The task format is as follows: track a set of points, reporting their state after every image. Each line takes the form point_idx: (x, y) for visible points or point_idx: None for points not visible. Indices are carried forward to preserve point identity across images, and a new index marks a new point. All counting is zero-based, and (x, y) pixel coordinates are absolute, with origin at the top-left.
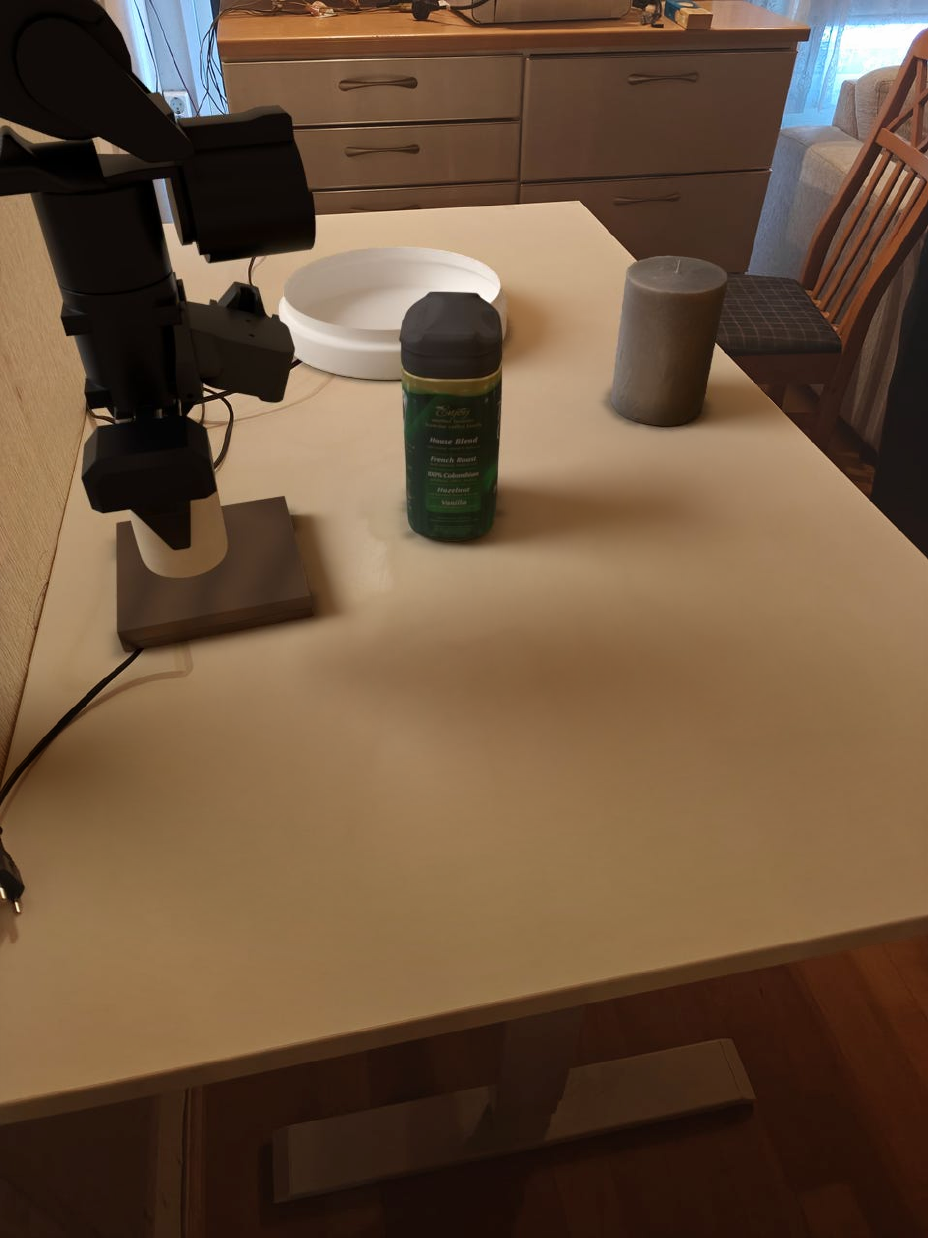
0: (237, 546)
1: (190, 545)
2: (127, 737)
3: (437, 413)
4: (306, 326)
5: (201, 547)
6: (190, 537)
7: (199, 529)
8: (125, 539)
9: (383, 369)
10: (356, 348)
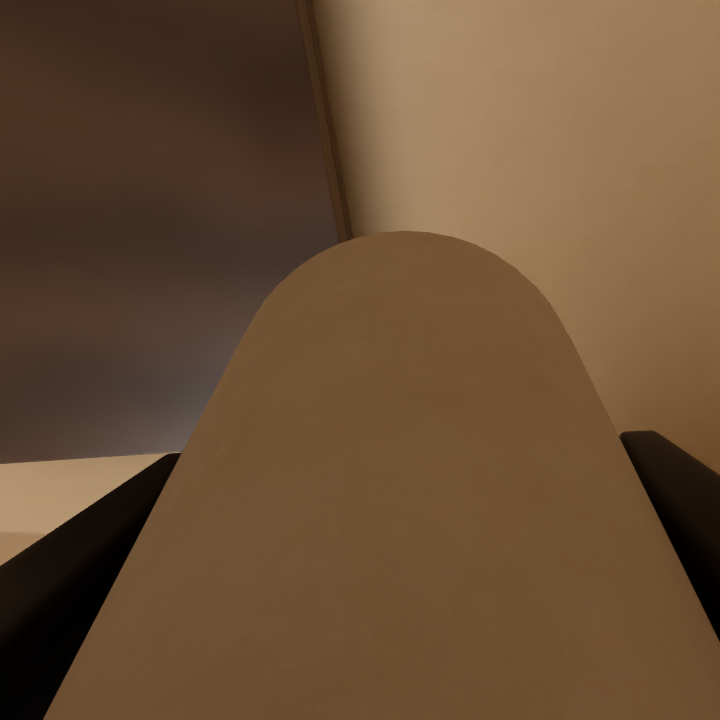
0: (40, 174)
1: (660, 435)
2: (645, 380)
3: None
4: None
5: (583, 367)
6: (698, 462)
7: (606, 416)
8: (43, 444)
9: None
10: None
